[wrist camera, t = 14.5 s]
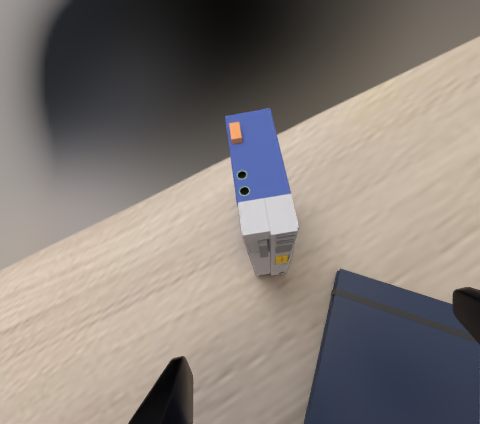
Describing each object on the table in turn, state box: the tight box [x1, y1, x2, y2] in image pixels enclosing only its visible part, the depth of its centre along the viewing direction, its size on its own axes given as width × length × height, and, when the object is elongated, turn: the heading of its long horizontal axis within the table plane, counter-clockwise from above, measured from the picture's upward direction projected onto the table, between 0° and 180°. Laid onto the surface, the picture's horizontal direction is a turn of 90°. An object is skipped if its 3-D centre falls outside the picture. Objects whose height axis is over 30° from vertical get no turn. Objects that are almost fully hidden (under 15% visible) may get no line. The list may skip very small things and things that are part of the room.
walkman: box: [225, 108, 299, 276], centre depth 18 cm, size 8×3×12 cm, turn 7°
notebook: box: [304, 269, 480, 424], centre depth 17 cm, size 15×10×1 cm
